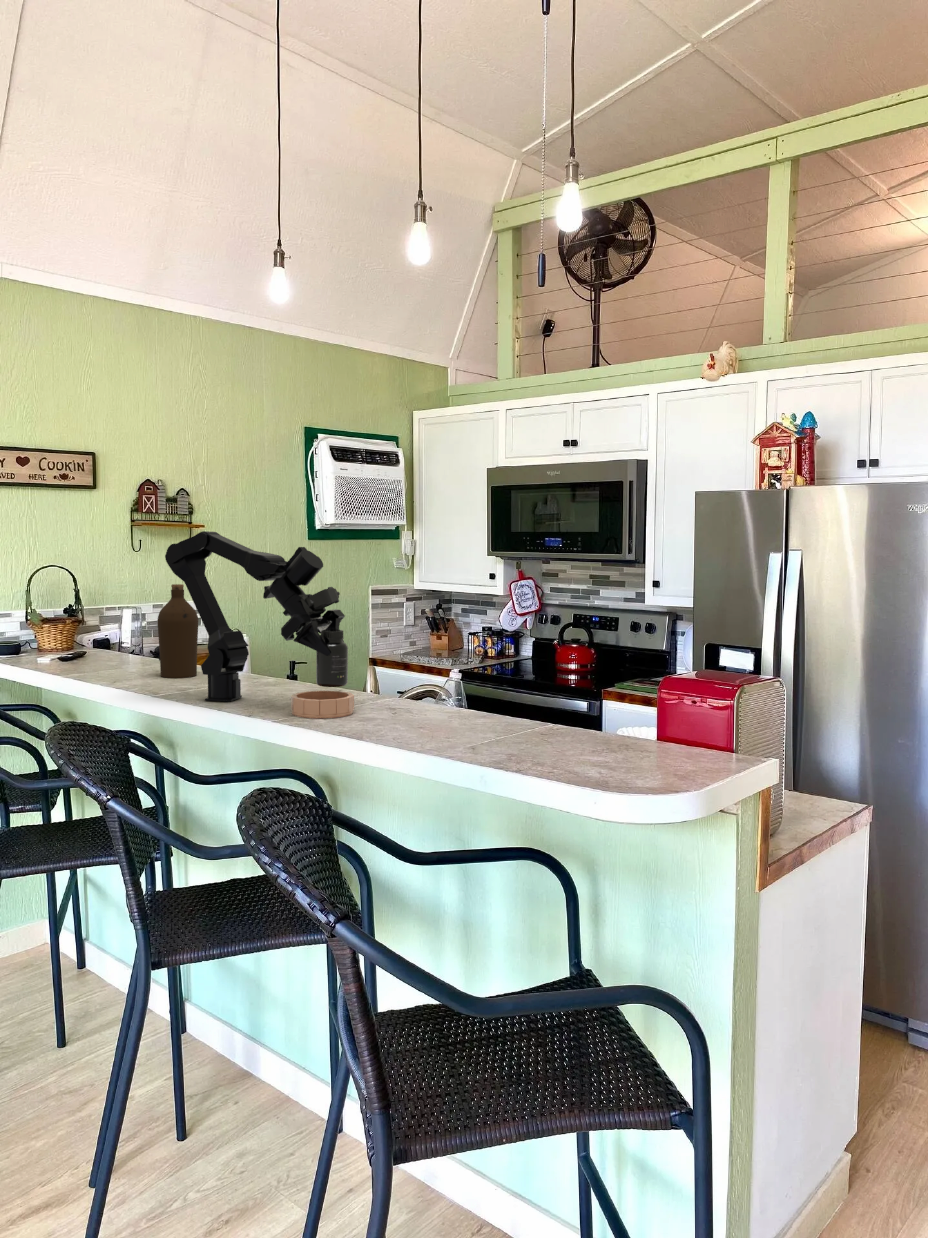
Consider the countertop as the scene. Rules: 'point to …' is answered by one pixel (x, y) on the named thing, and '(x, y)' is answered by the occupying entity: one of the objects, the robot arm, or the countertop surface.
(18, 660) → the countertop surface
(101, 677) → the countertop surface
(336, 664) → the supplement bottle
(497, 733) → the countertop surface
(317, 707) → the terracotta bowl
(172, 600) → the olive oil
